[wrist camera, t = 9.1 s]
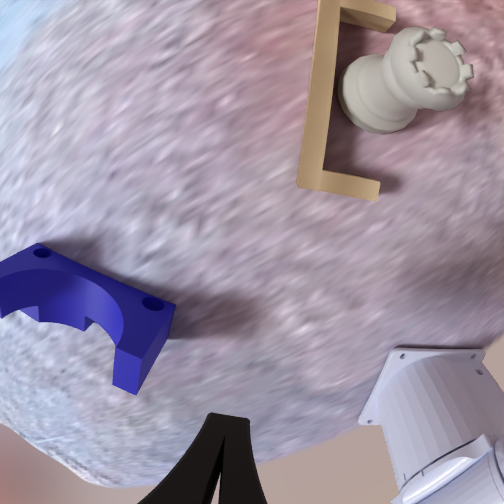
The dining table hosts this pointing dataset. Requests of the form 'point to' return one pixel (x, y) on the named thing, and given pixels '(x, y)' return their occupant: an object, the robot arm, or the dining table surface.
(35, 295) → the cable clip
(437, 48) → the rook chess piece
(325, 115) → the wooden bracket
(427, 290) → the dining table surface
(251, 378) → the dining table surface
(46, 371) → the dining table surface
